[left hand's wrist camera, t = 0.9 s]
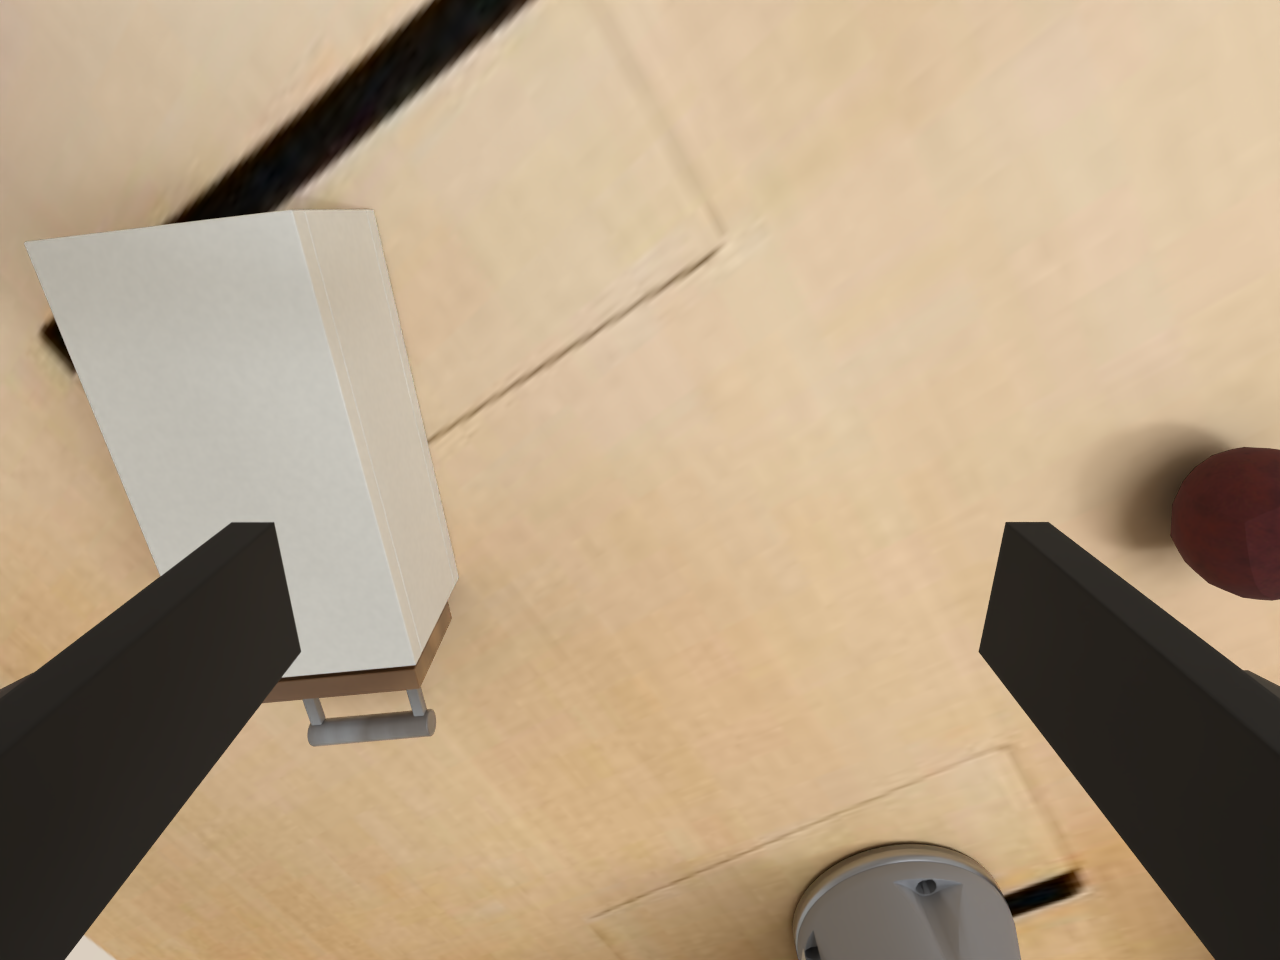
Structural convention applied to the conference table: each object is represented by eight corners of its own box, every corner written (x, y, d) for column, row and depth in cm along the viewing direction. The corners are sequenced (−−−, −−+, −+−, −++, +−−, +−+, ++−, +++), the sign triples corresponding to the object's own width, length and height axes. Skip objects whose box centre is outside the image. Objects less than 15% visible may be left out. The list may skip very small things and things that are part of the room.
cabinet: (459, 577, 41) (416, 665, 33) (287, 594, 41) (204, 685, 33) (373, 208, 33) (291, 209, 26) (165, 234, 34) (22, 241, 26)
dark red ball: (1159, 577, 40) (1259, 648, 34) (1120, 469, 38) (1220, 523, 32) (1289, 518, 39) (1420, 581, 33) (1258, 403, 37) (1393, 446, 30)
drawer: (469, 690, 42) (441, 769, 36) (323, 703, 43) (272, 783, 37) (371, 285, 34) (313, 302, 28) (189, 306, 34) (93, 327, 28)
